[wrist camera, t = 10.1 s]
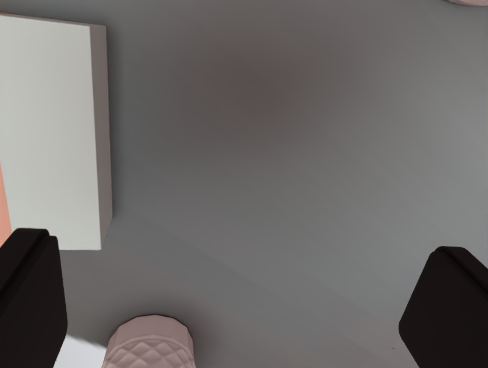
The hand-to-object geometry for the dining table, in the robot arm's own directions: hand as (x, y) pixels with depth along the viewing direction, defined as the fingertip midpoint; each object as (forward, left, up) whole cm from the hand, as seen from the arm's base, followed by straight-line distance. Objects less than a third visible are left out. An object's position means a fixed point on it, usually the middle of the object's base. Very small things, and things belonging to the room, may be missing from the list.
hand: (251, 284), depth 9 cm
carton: (+10, +1, -15) cm, 18 cm away
